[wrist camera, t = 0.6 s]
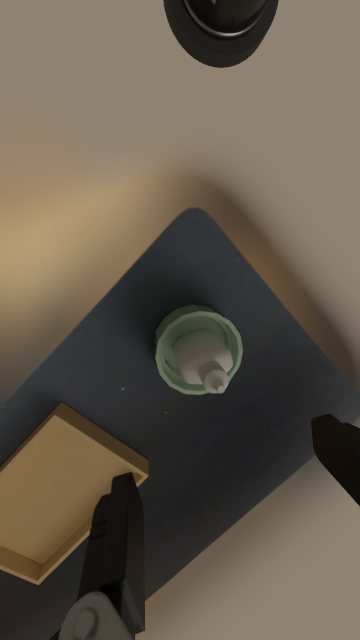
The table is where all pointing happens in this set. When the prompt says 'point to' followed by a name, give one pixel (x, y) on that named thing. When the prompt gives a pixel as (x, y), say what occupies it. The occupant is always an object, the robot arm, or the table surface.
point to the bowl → (186, 322)
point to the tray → (57, 490)
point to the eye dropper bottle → (203, 360)
